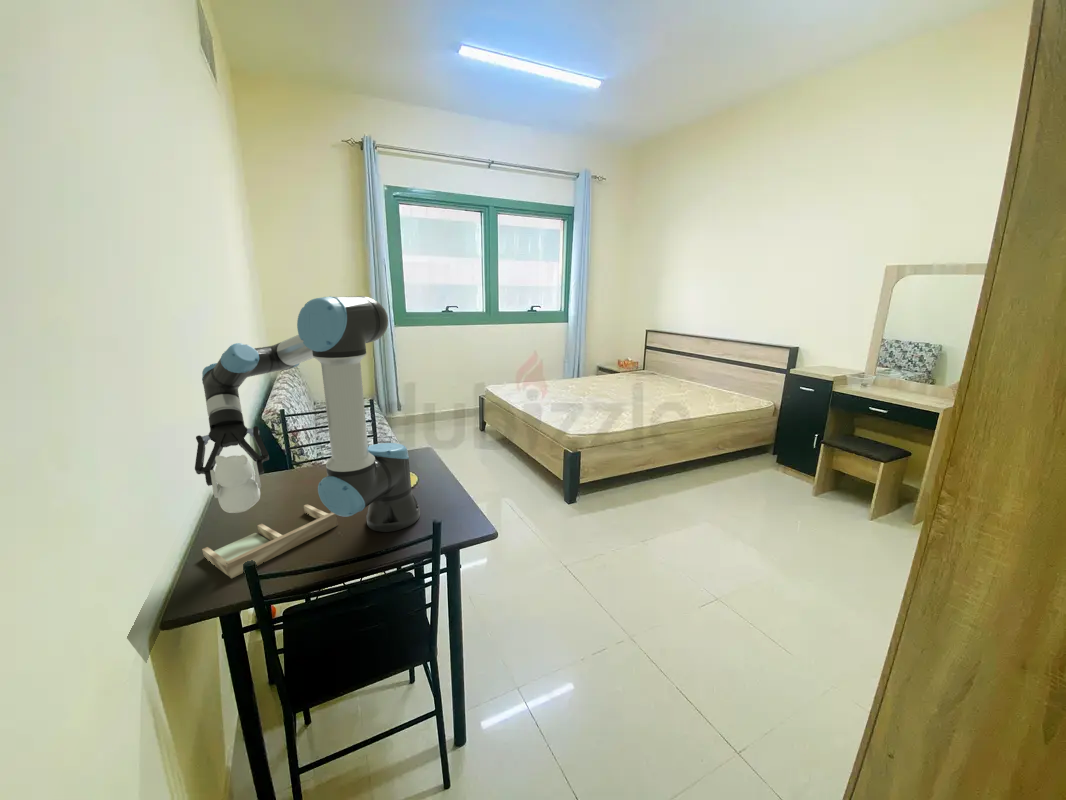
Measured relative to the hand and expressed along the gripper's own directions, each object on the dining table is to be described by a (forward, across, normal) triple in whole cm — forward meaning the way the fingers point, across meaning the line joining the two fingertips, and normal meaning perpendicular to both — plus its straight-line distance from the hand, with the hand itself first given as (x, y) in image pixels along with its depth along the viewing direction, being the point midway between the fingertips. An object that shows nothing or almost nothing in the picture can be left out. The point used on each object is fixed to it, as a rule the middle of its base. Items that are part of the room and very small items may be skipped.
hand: (238, 490), depth 106 cm
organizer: (+11, -6, -15) cm, 19 cm away
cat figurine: (+2, 0, -7) cm, 7 cm away
